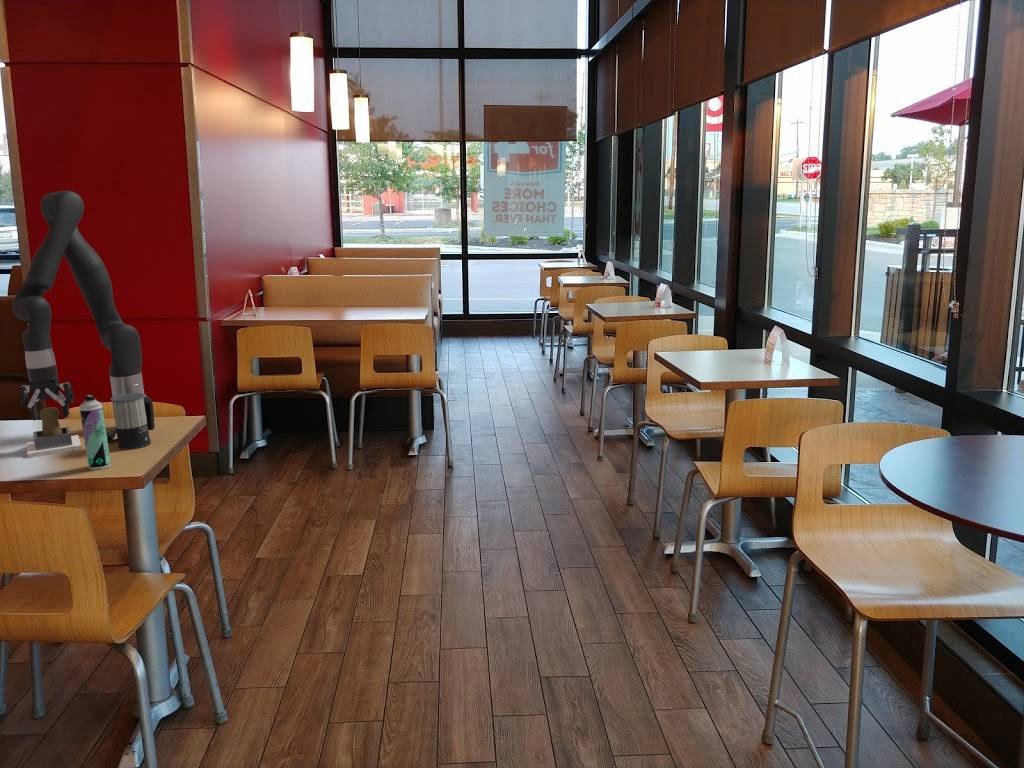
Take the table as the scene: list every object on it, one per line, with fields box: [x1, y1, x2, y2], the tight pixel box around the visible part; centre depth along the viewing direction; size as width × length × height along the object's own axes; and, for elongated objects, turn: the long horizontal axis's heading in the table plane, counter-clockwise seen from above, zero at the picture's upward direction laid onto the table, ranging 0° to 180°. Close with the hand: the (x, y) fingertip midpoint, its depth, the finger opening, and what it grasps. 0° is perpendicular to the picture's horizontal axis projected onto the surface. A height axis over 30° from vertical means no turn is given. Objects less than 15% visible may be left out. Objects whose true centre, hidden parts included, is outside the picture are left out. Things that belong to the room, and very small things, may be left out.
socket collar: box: [32, 426, 72, 451], centre depth 267 cm, size 10×10×4 cm
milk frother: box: [106, 393, 156, 450], centre depth 268 cm, size 14×16×15 cm
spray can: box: [79, 394, 112, 471], centre depth 244 cm, size 6×6×20 cm
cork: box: [38, 406, 62, 437], centre depth 266 cm, size 6×6×11 cm
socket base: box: [26, 434, 83, 458], centre depth 268 cm, size 14×14×1 cm
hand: (50, 418), depth 266 cm, fingers open, 8 cm apart
